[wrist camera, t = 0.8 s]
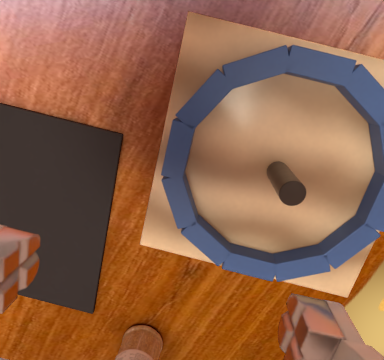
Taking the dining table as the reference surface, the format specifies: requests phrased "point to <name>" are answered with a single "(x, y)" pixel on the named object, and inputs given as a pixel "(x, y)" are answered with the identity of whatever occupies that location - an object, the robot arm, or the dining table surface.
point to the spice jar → (140, 344)
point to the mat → (59, 199)
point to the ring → (249, 73)
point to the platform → (266, 153)
